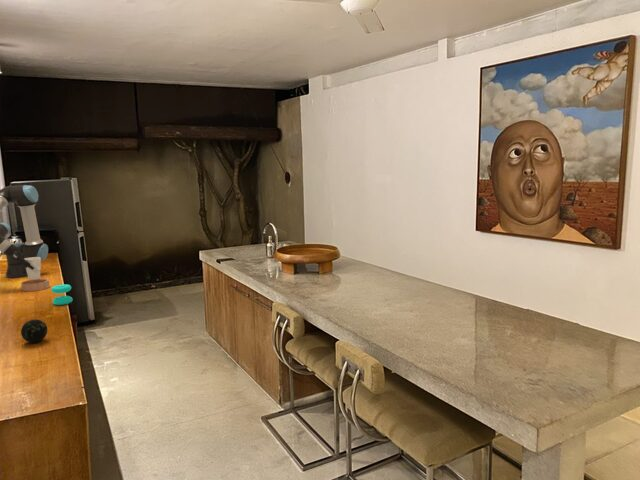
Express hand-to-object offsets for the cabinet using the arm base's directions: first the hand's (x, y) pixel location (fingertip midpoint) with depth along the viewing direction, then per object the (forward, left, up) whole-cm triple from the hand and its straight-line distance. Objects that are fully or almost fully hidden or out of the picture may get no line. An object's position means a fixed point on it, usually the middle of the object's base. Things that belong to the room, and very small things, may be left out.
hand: (39, 270), depth 313 cm
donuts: (+48, +15, -12) cm, 51 cm away
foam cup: (0, -3, -5) cm, 6 cm away
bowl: (0, -3, -11) cm, 12 cm away
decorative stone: (+113, +8, -12) cm, 113 cm away
